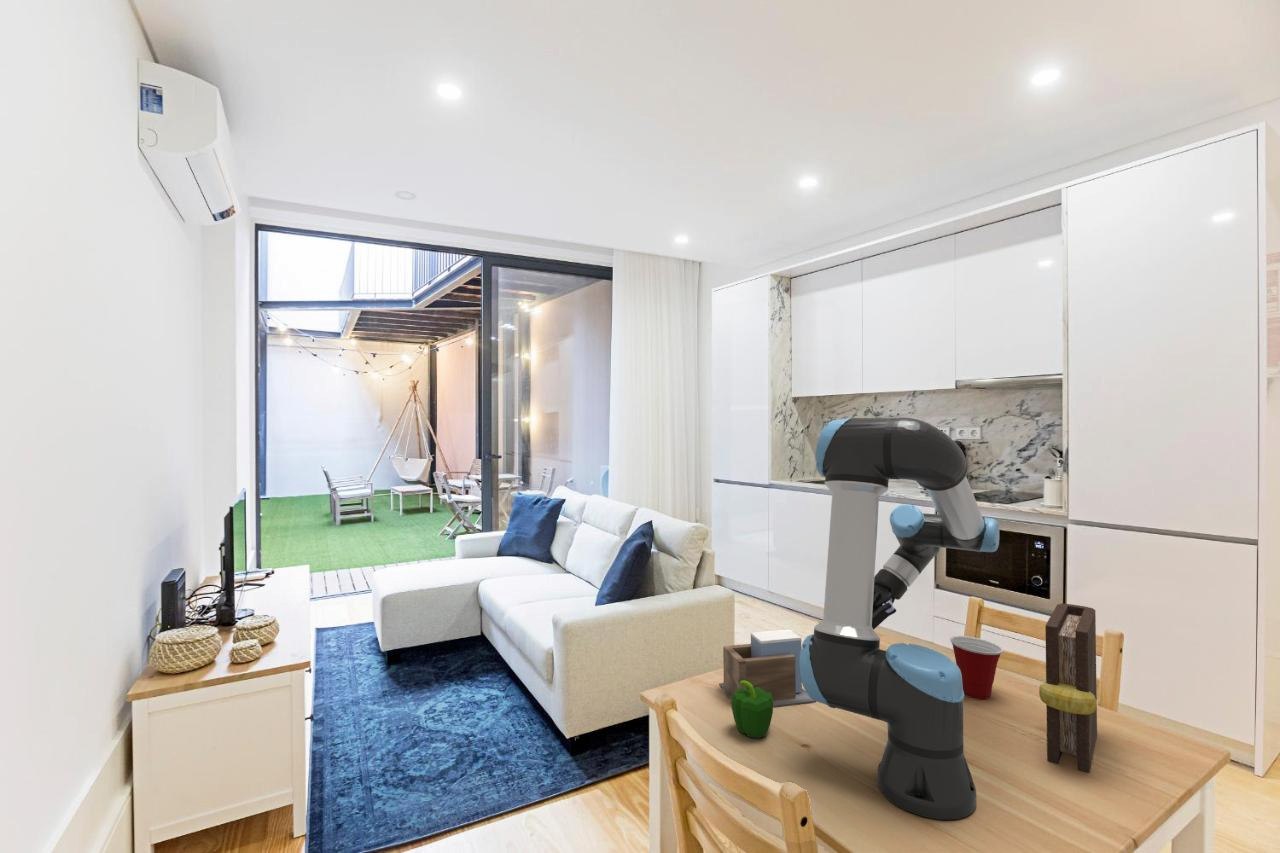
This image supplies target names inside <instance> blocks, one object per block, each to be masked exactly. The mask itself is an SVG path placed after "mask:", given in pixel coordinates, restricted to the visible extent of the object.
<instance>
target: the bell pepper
mask: <svg viewBox="0 0 1280 853" xmlns="http://www.w3.org/2000/svg"><path fill="white" fill-rule="evenodd" d="M740 684H741V685H742V686H743V685H745V686H747V687H748V688H749V690H747V689H743V688H739V689H738V690H737V691H736V692H735V693H734V694H733V697H732V699H731V698H730V699H731V711H732V717H733V720H734V723H735V726H736V728H737V730H738V731H739V732H740V733H741V734H742V733H744V734H745V735H746V736H747V737H749V738H756V739H757V738H759V739H760V738H763V737H764V736H766V735H767V733H768V731H769V729H770V726H771V722H772V719H773V718H772V717H773V714H774V707H773V696H772V694H771V693H770V692H765V691H764V690H762V689H761V688H759V687H757V688H753V685H752V684H751V683H750V682H748V681H745V680H743V681H740Z"/></svg>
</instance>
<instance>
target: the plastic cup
mask: <svg viewBox="0 0 1280 853" xmlns="http://www.w3.org/2000/svg"><path fill="white" fill-rule="evenodd" d="M949 639H950V640H949V641H950V643H951V645H952V648H953V653H954V658H955V663H956V664H957V666H958V667H959V669H960V671H961V675H962V685H963V691H964V696H966V697H968V698H971V699H975V700H987V699H990V697H991V695H992V691H993V684H994V682H995V676H996V672H997V667H998V663H999V659H1000V656H1001V655H1002V654H1003V653H1004V649H1003V647H1002V646H1000V645H999V644H997V643H996V642H992V641H990V640H986V639H982V638H980V637H979V638H978V637H973V636H969V635H967V636H966V635H955V636H952V637H950V638H949Z"/></svg>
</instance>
